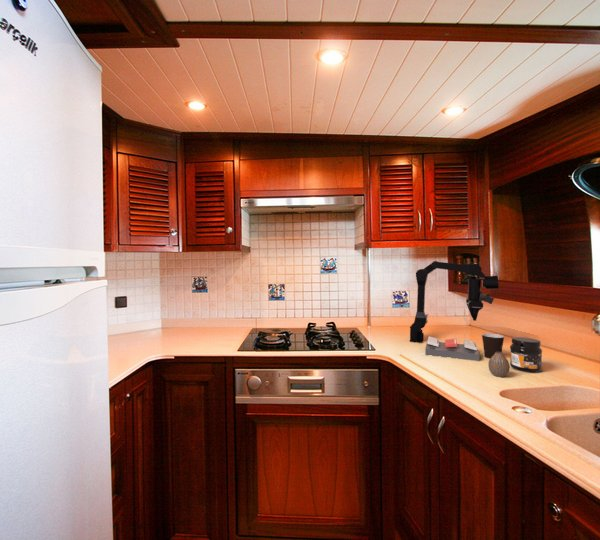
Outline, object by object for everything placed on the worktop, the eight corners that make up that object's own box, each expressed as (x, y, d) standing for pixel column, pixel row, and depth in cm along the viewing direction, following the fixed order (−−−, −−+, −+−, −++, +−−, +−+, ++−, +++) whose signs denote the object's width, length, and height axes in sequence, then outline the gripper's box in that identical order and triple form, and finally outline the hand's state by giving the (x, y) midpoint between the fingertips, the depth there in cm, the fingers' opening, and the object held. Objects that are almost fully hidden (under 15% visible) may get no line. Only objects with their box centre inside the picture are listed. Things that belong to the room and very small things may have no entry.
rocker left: (427, 343, 151) (427, 340, 151) (428, 338, 161) (428, 336, 161) (438, 346, 149) (438, 344, 149) (438, 341, 159) (439, 339, 159)
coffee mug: (496, 361, 138) (496, 338, 137) (477, 356, 145) (477, 334, 145) (511, 357, 143) (512, 335, 143) (492, 352, 151) (493, 332, 150)
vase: (484, 372, 124) (484, 350, 123) (500, 372, 124) (501, 349, 124) (496, 379, 117) (496, 355, 117) (514, 378, 117) (514, 355, 117)
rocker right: (464, 347, 144) (465, 344, 144) (463, 341, 154) (463, 339, 154) (476, 350, 142) (477, 347, 142) (474, 344, 152) (475, 342, 152)
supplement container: (509, 370, 126) (510, 340, 126) (510, 363, 135) (510, 335, 135) (542, 375, 120) (543, 344, 120) (540, 367, 129) (541, 338, 129)
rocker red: (445, 347, 148) (445, 344, 148) (445, 342, 158) (445, 339, 158) (457, 346, 146) (456, 343, 146) (456, 341, 156) (456, 338, 156)
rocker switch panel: (425, 355, 147) (425, 348, 147) (427, 346, 162) (427, 340, 162) (479, 361, 138) (479, 353, 138) (475, 351, 153) (476, 345, 152)
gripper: (495, 290, 148) (495, 323, 149) (490, 287, 165) (489, 317, 166) (469, 289, 153) (468, 321, 153) (466, 287, 170) (465, 315, 170)
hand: (473, 319), depth 161 cm, fingers open, 9 cm apart
